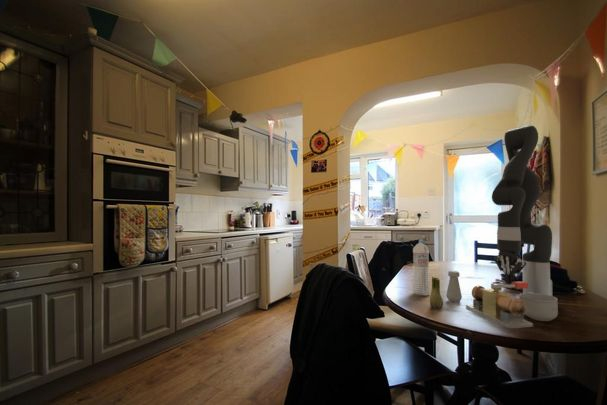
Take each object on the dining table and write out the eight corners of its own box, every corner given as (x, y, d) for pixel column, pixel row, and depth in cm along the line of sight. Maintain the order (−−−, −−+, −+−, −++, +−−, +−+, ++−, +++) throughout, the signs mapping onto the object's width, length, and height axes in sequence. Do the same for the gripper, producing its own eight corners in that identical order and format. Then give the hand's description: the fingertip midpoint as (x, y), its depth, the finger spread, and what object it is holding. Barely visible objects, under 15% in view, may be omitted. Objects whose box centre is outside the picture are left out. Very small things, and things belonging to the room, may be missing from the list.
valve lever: (495, 290, 104) (495, 284, 104) (489, 287, 107) (488, 282, 107) (529, 288, 106) (529, 283, 106) (521, 286, 109) (521, 281, 109)
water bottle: (430, 293, 134) (429, 239, 135) (427, 297, 129) (427, 241, 129) (414, 291, 138) (414, 239, 139) (411, 294, 132) (411, 240, 133)
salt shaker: (463, 304, 119) (463, 272, 120) (448, 303, 120) (448, 272, 121) (459, 300, 125) (458, 269, 125) (444, 299, 126) (444, 269, 127)
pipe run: (486, 307, 116) (486, 282, 116) (532, 326, 96) (532, 297, 97) (466, 308, 115) (466, 283, 115) (509, 328, 95) (508, 298, 95)
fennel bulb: (430, 304, 119) (430, 275, 119) (444, 306, 116) (443, 276, 117) (428, 308, 114) (428, 278, 114) (442, 310, 111) (442, 279, 112)
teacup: (561, 326, 97) (560, 302, 97) (521, 319, 103) (520, 297, 103) (552, 314, 109) (552, 292, 109) (517, 308, 115) (516, 288, 115)
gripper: (533, 240, 106) (533, 288, 105) (503, 237, 119) (503, 279, 118) (515, 240, 105) (515, 288, 104) (486, 237, 118) (487, 279, 117)
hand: (509, 283), depth 111 cm, fingers closed
